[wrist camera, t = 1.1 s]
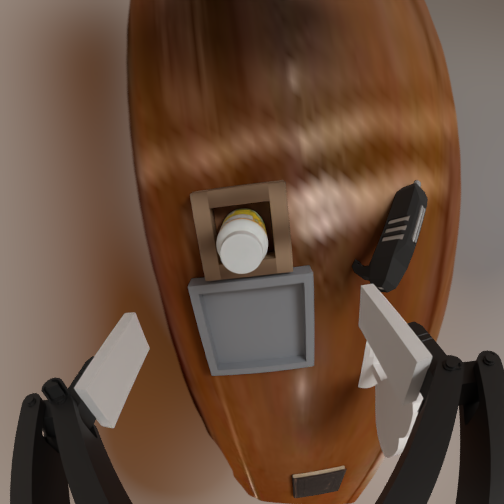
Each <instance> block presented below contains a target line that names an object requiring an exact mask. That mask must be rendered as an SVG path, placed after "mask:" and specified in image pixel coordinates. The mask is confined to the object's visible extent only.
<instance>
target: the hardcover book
mask: <svg viewBox="0 0 504 504" xmlns="http://www.w3.org/2000/svg"><path fill="white" fill-rule="evenodd" d="M345 472H346V469H345V467H344V466H340V467H336V468H331V469H326V470H321V471H315V472H309V473H302V474H295V475H292V481H293V496H294V498H300V497H306V496H313V495H319V494H324V493H329V492H334V491H338V489H339V487H340V484H341V482H342V479H343V477H344V474H345Z"/></svg>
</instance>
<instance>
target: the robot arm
mask: <svg viewBox="0 0 504 504" xmlns="http://www.w3.org/2000/svg"><path fill="white" fill-rule="evenodd" d="M359 327H360V329H361V331H362V332H363V334H364V336H365V338H366V339H367V341H368V343H369V345H370V347H371V348H372V350H373V352H374V354H375V356H376V357H377V359H378V361H379V363H380V365H381V367H382V368H383V370H384V372H385V374H386V376H387V378H388V380H389V382H390V384H391V385H392V387H393V389H394V391H395V393H396V395H397V397H398V399H399V401H400V403H401V405H402V406H403V405H406V404H409V403H412V402H414V401H416V400H417V398H418V396H419V393H421V395H422V397H423V400H422V402H421V405H420V407H419V409H418V411H417V412H418V414H417V417H416V420H415V422H414V425H413V428H412V430H411V433H410V435H409V438H408V440H407V443H406V445H405V447H404V449H403V452H402V454H401V456H400V458H399V461H398V462H397V464H396V467H395V469H394V471H393V473H392V475H391V476H390V478H389V480H388V482H387V484H386V486H385V487H384V489H383V491H382V493H381V495H380V496H379V498H378V500H377V501H376V503H375V504H427V502H428V500H429V497H430V495H431V493H432V490H433V488H434V486H435V483H436V481H437V478H438V475H439V473H440V470H441V467H442V464H443V461H444V458H445V455H446V452H447V449H448V445H449V442H450V438H451V434H452V431H453V427H454V423H455V418H456V414H457V409H458V406H459V413H460V468H459V480H458V490H457V498H456V504H504V369H503V365H502V362H501V359H500V358H499V356H498V355H497V354H496V353H494V352H492V351H483V352H481V353H480V354H479V355H478V357H477V360H476V361H470V362H462V361H461V360H460V359H459V358H458V357H455V356H451V355H446V354H445V353H444V351H443V350H442V349H441V348H440V346H439V345H438V344H437V343H436V342H435V340H434V339H432V337H431V336H430V334H428V332H427V331H426V330H425V329H424V327H423V326H421V325H420V324H418V323H416V322H411V323H406V322H405V321H404V319H403V318H402V317H401V316H400V314H399V313H398V312H397V311H396V310H395V308H394V307H393V306H392V305H391V304H390V303H389V301H388V300H387V299H386V298H385V297H384V296H383V294H382V293H381V292H380V291H379V290H378V289H377V287H376V286H375V285H374V284H368V285H362V286H361V296H360V314H359ZM149 349H150V348H149V346H148V344H147V341H146V339H145V336H144V334H143V331H142V329H141V326H140V324H139V321H138V318H137V315H136V313H125V314H124V315H123V316H122V318H121V319H120V321H119V322H118V323H117V325H116V326H115V328H114V329H113V330H112V332H111V333H110V335H109V336H108V337H107V339H106V340H105V342H104V343H103V345H102V346H101V348H100V349H99V350H98V352H97V353H96V355H95V356H93V357H91V358H90V359H89V360H87V361H86V362H85V364H84V366H83V367H82V369H81V370H80V371H79V373H78V375H77V376H76V377H75V379H74V380H73V382H72V383H71V385H70V387H69V388H68V389H67V387H66V386H65V384H64V383H63V381H62V380H61V379H60V378H52V379H50V380H48V381H47V382H46V383H45V384H44V385H43V387H42V392H43V393H44V395H45V396H46V398H47V399H48V400H42V398H41V397H40V396H39V394H36V393H33V394H30V395H28V396H26V398H25V399H24V401H23V403H22V407H21V411H20V416H19V421H18V426H17V431H16V437H15V443H14V451H13V459H12V470H11V485H10V486H11V487H10V504H70V499H69V488H68V484H69V487H70V490H71V493H72V496H73V499H74V501H75V504H132V502H131V500H130V499H129V497H128V495H127V493H126V491H125V490H124V488H123V486H122V484H121V482H120V480H119V478H118V476H117V474H116V472H115V470H114V468H113V466H112V463H111V461H110V459H109V457H108V455H107V452H106V450H105V447H104V445H103V443H102V440H101V438H100V435H99V432H98V430H97V428H96V426H95V425H94V422H95V420H96V419H97V421H98V422H99V423H100V424H101V425H102V426H104V427H109V428H114V427H115V425H116V422H117V420H118V417H119V415H120V413H121V410H122V408H123V406H124V403H125V401H126V399H127V396H128V394H129V392H130V390H131V388H132V385H133V383H134V381H135V379H136V376H137V374H138V372H139V370H140V368H141V366H142V364H143V361H144V359H145V357H146V355H147V353H148V351H149ZM42 431H43V432H44V437H43V435H42Z"/></svg>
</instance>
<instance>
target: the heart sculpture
mask: <svg viewBox="0 0 504 504" xmlns="http://www.w3.org/2000/svg"><path fill="white" fill-rule="evenodd" d="M374 385H375V391H376V402H375V410H376V426H377V433H378V438H379V442H380V445H381V449H382V451H383V453H384V455H385V457H388V458H389V457H392V456H395V455H398V454H401V453H402V452H403V449H404V447H405V445H406V443H407V440H408V438H409V435H410V433H411V430H412V428H413V425H414V422H415V420H416V417H417V414H418V412H417V411H418V409H419V407H420V405H421V402H422V400H423V397H422V395H421V393H419V396H418V398H417V400H416V401H414V402H412V403H409V404H406V405H403V406H402V405H401V403H400V401H399V399H398V397H397V395H396V393H395V391H394V389H393V387H392V385H391V384H390V382H389V380H388V378H387V376H386V374H385V372H384V370H383V368H382V367H381V365H380V363H379V361H378V359H377V357H376V356H375V354H374V352H373V350H372V348H371V347H370V345H369V343H368V341H367V342H366V348H365V354H364V360H363V365H362V370H361V375H360V380H359V385H358V387H360V388H370V387H372V386H374Z"/></svg>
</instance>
